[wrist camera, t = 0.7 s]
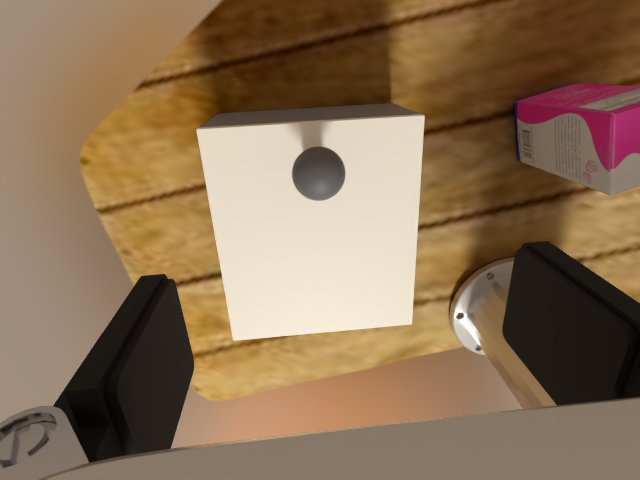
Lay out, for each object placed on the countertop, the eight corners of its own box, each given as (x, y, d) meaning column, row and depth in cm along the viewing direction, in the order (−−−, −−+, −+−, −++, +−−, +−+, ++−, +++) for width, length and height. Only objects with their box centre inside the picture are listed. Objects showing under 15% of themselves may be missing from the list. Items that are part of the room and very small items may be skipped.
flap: (420, 114, 27) (455, 127, 21) (409, 318, 34) (433, 367, 28) (198, 127, 26) (176, 144, 20) (234, 334, 33) (224, 388, 27)
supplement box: (576, 143, 37) (691, 175, 27) (515, 161, 37) (605, 199, 27) (577, 80, 35) (703, 87, 24) (512, 99, 35) (609, 115, 24)
